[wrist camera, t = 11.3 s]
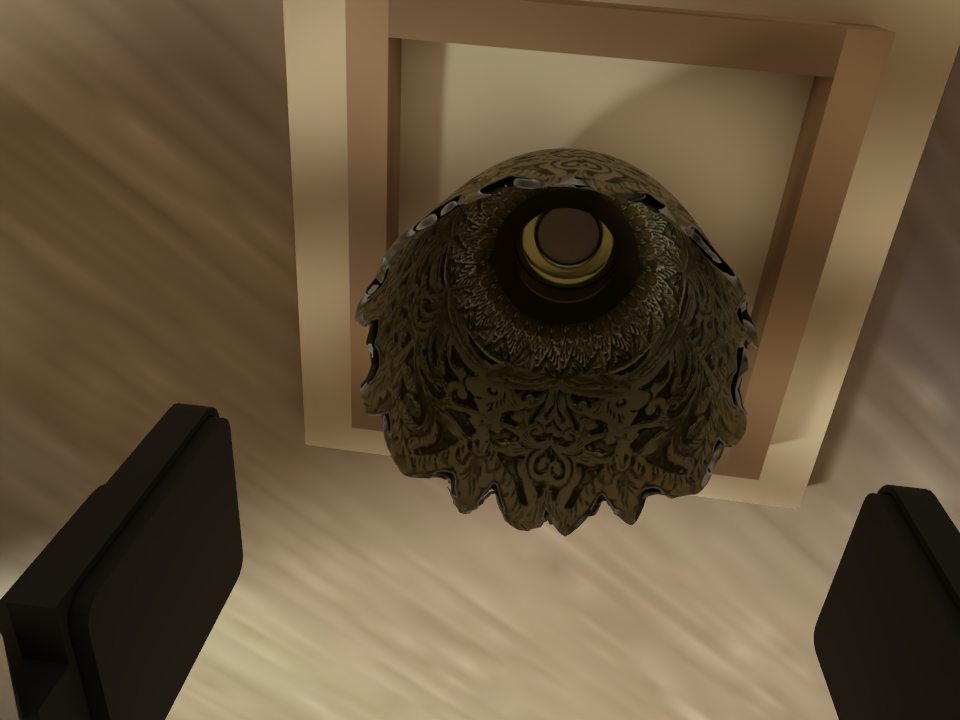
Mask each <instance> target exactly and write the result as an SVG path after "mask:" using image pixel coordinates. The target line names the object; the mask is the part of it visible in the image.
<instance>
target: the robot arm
mask: <svg viewBox="0 0 960 720" xmlns="http://www.w3.org/2000/svg"><path fill="white" fill-rule="evenodd" d="M242 561H243V549H242V539H241V530H240V520H239V510H238V500H237V490H236V480H235V470H234V461H233V451H232V441H231V431H230V424H229V422H228V420H227V419H226V418H219V414H218V412H217V410H216V409H215V408H213V407H206V406H197V405H189V404H180V403H178V404H174V405H173V406H172V407H171V408H170V409H169V410H168V411H167V412H166V413H165V415H164V416H163V417H162V418H161V419H160V420H159V422H158V423H157V424H156V425H155V426H154V428H153V429H152V430H151V431H150V432H149V433H148V435H147V436H146V437H145V438H144V439H143V440H142V442H141V443H140V444H139V445H138V446H137V448H136V449H135V450H134V451H133V452H132V453H131V455H130V456H129V457H128V458H127V459H126V461H125V462H124V463H123V464H122V465H121V466H120V468H119V469H118V470H117V471H116V472H115V473H114V475H113V476H112V477H111V478H110V479H109V481H108V482H107V483H106V484H104V485H101V486H99V487H98V488H97V489H96V490H95V491H94V492H93V493H92V494H91V495H90V496H89V497H88V498H87V500H86V501H85V502H84V503H83V504H82V505H81V507H80V508H79V509H78V510H77V511H76V512H75V514H74V515H73V516H72V517H71V518H70V519H69V521H68V522H67V523H66V524H65V525H64V526H63V528H62V529H61V530H60V531H59V532H58V533H57V535H56V536H55V537H54V538H53V539H52V540H51V542H50V543H49V544H48V545H47V546H46V547H45V548H44V550H43V551H42V552H41V553H40V554H39V555H38V557H37V558H36V559H35V560H34V561H33V562H32V564H31V565H30V566H29V567H28V568H27V569H26V571H25V572H24V573H23V574H22V575H21V576H20V578H19V579H18V580H17V581H16V582H15V583H14V585H13V586H12V587H11V588H10V589H9V590H8V592H7V593H6V594H5V595H4V596H3V597H2V599H1V600H0V720H165V719H166V717H167V715H168V713H169V711H170V709H171V707H172V705H173V703H174V701H175V699H176V697H177V695H178V694H179V692H180V690H181V688H182V686H183V684H184V682H185V680H186V678H187V676H188V674H189V672H190V670H191V668H192V666H193V665H194V663H195V661H196V659H197V657H198V655H199V653H200V651H201V649H202V647H203V645H204V643H205V641H206V639H207V637H208V636H209V634H210V632H211V630H212V628H213V626H214V624H215V622H216V620H217V618H218V616H219V614H220V612H221V610H222V608H223V607H224V605H225V603H226V601H227V599H228V597H229V595H230V593H231V591H232V589H233V587H234V585H235V583H236V581H237V579H238V577H239V575H240V571H241V567H242ZM814 646H815V651H816V654H817V657H818V660H819V663H820V666H821V669H822V672H823V675H824V677H825V680H826V683H827V686H828V689H829V692H830V695H831V698H832V700H833V703H834V706H835V709H836V712H837V715H838V718H839V720H960V533H959V531H958V530H957V528H956V527H955V525H954V524H953V522H952V521H951V519H950V517H949V516H948V514H947V513H946V511H945V510H944V508H943V507H942V505H941V504H940V502H939V501H938V499H937V498H936V496H935V495H934V494H933V493H932V492H931V491H930V490H927V489H920V488H912V487H903V486H894V485H885V486H883V487H882V488H881V489H880V490H879V491H878V493H877V494H875V493H871V494H868V495H867V496H866V498H865V500H864V502H863V504H862V507H861V510H860V512H859V515H858V517H857V520H856V522H855V525H854V528H853V530H852V533H851V535H850V538H849V540H848V543H847V546H846V548H845V551H844V553H843V556H842V558H841V561H840V564H839V566H838V569H837V571H836V574H835V576H834V579H833V582H832V584H831V587H830V589H829V592H828V595H827V597H826V600H825V602H824V605H823V607H822V610H821V613H820V615H819V618H818V620H817V623H816V626H815V631H814Z"/></svg>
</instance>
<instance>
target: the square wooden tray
mask: <svg viewBox="0 0 960 720" xmlns="http://www.w3.org/2000/svg"><path fill="white" fill-rule="evenodd" d="M283 16H284V36H285V55H286V75H287V94H288V114H289V134H290V153H291V173H292V192H293V212H294V231H295V251H296V271H297V290H298V310H299V329H300V349H301V368H302V388H303V407H304V427H305V445H311V446H318V447H326V448H334V449H341V450H349V451H356V452H364V453H372V454H379V455H387V456H391V454H390V452H389V450H388V448H387V445H386V442H385V439H384V434H383V422H382V417H381V415H380V416H369V415H367V414H366V413H365V412H364V410H363V407H362V401H361V394H360V386H361V384H362V383H363V381H364V380H365V379H366V377H367V375H368V372H369V369H370V366H371V358H370V351H369V350H368V349H367V347H366V339H367V336H368V332H369V327H370V326H369V325H368V326H367V327H365V326H364V328H363V327H362V326H361V325H360V324H359V323H357V322H356V321H355V312H356V309H357V306H358V304H359V302H360V300H361V298H362V296H363V294H364V293H365V291H366V289H367V288H368V286H369V285H370V284H371V282H372V281H373V280H374V279H375V278H376V275H377V273H378V271H379V268H380V265H381V262H382V260H383V258H384V256H385V254H386V253H387V251H388V250H389V248H390V247H391V246H392V244H393V243H394V242H395V241H396V240H397V239H398V238H399V237H400V236H401V235H403V234H404V233H405V232H406V231H408V230H409V229H410V228H411V227H413V226H414V225H415V224H417V223H418V222H419V221H421V220H422V219H423V218H424V217H426V216H427V215H428V214H429V213H430V212H431V211H432V210H433V209H435V208H436V207H437V206H438V205H439V204H440V203H442V202H443V201H444V200H445V199H446V198H447V197H449V196H450V195H451V194H452V193H454V192H455V191H456V190H457V189H459V188H460V187H461V186H463V185H464V184H465V183H467V182H468V181H469V180H470V179H472V178H473V177H475V176H476V175H478V174H480V173H481V172H483V171H485V170H486V169H488V168H490V167H492V166H494V165H496V164H498V163H501V162H503V161H505V160H507V159H510V158H512V157H515V156H519V155H522V154H525V153H529V152H534V151H539V150H546V149H558V148H565V149H581V150H588V151H594V152H598V153H602V154H606V155H610V156H612V157H615V158H617V159H620V160H623V161H625V162H627V163H629V164H631V165H633V166H635V167H637V168H639V169H640V170H642V171H643V172H645V173H646V174H648V175H649V176H651V177H652V178H654V179H655V180H656V181H658V182H659V183H660V184H661V185H662V186H663V187H665V188H666V189H667V190H668V191H669V192H670V193H671V194H672V195H673V196H674V197H675V198H676V199H677V200H678V201H679V202H680V203H681V205H682V206H683V207H684V208H685V209H686V210H687V211H688V212H689V214H690V215H691V216H692V218H693V219H694V220H695V222H696V223H697V224H698V226H699V227H700V228H701V230H702V231H703V233H704V234H705V235H706V237H707V238H708V240H709V241H710V243H711V244H712V246H713V247H714V248H715V250H716V251H717V253H718V254H719V255H720V256H721V257H722V258H723V259H724V261H725V262H726V263H727V264H728V265H729V266H730V267H731V269H732V270H733V271H734V273H735V274H736V275H737V277H738V278H739V280H740V282H741V284H742V286H743V288H744V290H745V292H746V294H747V297H748V300H749V301H748V307H747V310H748V314H749V315H750V317H751V319H752V321H753V323H754V326H755V329H756V332H757V337H758V343H759V346H758V349H756V348H755V347H754V346H753V345H748V347H747V356H748V361H749V368H748V372H747V373H745V374H744V376H743V378H742V383H741V387H740V393H741V397H742V403H743V406H744V408H745V410H746V412H747V427H746V432H745V434H744V435H743V437H742V439H741V440H740V441H739V443H738V444H736V445H735V446H733V445H730V444H729V445H727V446H725V448H724V451H723V453H722V456H721V458H720V459H719V460H718V461H717V463H716V466H715V468H714V471H713V473H712V475H711V478H710V480H709V481H708V483H707V485H706V486H705V487H704V489H703V490H702V491H701V492H699V493H698V494H696V495H692V496H699V497H707V498H715V499H722V500H730V501H737V502H745V503H753V504H760V505H768V506H776V507H783V508H791V509H798V510H799V507H800V505H801V502H802V499H803V496H804V493H805V490H806V487H807V484H808V481H809V479H810V476H811V473H812V470H813V467H814V464H815V461H816V458H817V455H818V453H819V450H820V447H821V444H822V441H823V438H824V435H825V432H826V430H827V427H828V424H829V421H830V418H831V415H832V412H833V409H834V406H835V404H836V401H837V398H838V395H839V392H840V389H841V386H842V383H843V380H844V378H845V375H846V372H847V369H848V366H849V363H850V360H851V357H852V355H853V352H854V349H855V346H856V343H857V340H858V337H859V334H860V331H861V329H862V326H863V323H864V320H865V317H866V314H867V311H868V308H869V306H870V303H871V300H872V297H873V294H874V291H875V288H876V285H877V282H878V280H879V277H880V274H881V271H882V268H883V265H884V262H885V259H886V256H887V254H888V251H889V248H890V245H891V242H892V239H893V236H894V233H895V231H896V228H897V225H898V222H899V219H900V216H901V213H902V210H903V207H904V205H905V202H906V199H907V196H908V193H909V190H910V187H911V184H912V182H913V179H914V176H915V173H916V170H917V167H918V164H919V161H920V158H921V156H922V153H923V150H924V147H925V144H926V141H927V138H928V135H929V132H930V130H931V127H932V124H933V121H934V118H935V115H936V112H937V109H938V107H939V104H940V101H941V98H942V95H943V92H944V89H945V86H946V83H947V81H948V78H949V75H950V72H951V69H952V66H953V63H954V60H955V58H956V55H957V52H958V49H959V46H960V0H283ZM538 239H539V243H540V246H541V248H542V250H543V251H544V252H545V253H546V254H547V255H548V256H549V257H550V258H552V259H553V260H555V261H558V262H561V263H576V262H579V261H582V260H584V259H585V258H587V257H588V256H589V255H590V254H591V253H592V252H593V251H594V249H595V248H596V246H597V243H598V239H599V230H598V226H597V224H596V221H595V220H594V218H593V217H592V216H591V215H590V214H589V213H587V212H584V211H581V210H578V209H572V208H560V209H554V210H552V211H550V212H549V213H548V214H547V215H546V216H545V217H544V218H543V220H542V221H541V223H540V226H539V230H538Z"/></svg>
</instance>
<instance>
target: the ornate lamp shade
mask: <svg viewBox="0 0 960 720" xmlns="http://www.w3.org/2000/svg"><path fill="white" fill-rule="evenodd" d="M560 208H572V209H578V210H581V211H584V212H587V213H589V214H590V215H591V216H592V217H593V218H594V220H595V221H596V224H597V226H598V230H599V239H598V243H597V246H596V248H595V249H594V251H593V252H592V253H591V254H590V255H589V256H588V257H587V258H585V259H584V260H582V261H579V262H576V263H561V262H558V261H555V260H553V259H552V258H550V257H549V256H548V255H547V254H546V253H545V252H544V251H543V250H542V248H541V246H540V243H539V239H538V230H539V226H540V223H541V221H542V220H543V218H544V217H545V216H546V215H547V214H548V213H549V212H550V211H552V210H554V209H560ZM748 301H749V300H748V297H747V294H746V292H745V290H744V288H743V286H742V284H741V282H740V280H739V278H738V277H737V275H736V274H735V273H734V271H733V270H732V269H731V267H730V266H729V265H728V264H727V263H726V262H725V261H724V259H723V258H722V257H721V256H720V255H719V254H718V253H717V251H716V250H715V248H714V247H713V246H712V244H711V243H710V241H709V240H708V238H707V237H706V235H705V234H704V233H703V231H702V230H701V228H700V227H699V226H698V224H697V223H696V222H695V220H694V219H693V218H692V216H691V215H690V214H689V212H688V211H687V210H686V209H685V208H684V207H683V206H682V205H681V203H680V202H679V201H678V200H677V199H676V198H675V197H674V196H673V195H672V194H671V193H670V192H669V191H668V190H667V189H666V188H665V187H663V186H662V185H661V184H660V183H659V182H658V181H656V180H655V179H654V178H652V177H651V176H649V175H648V174H646V173H645V172H643V171H642V170H640V169H639V168H637V167H635V166H633V165H631V164H629V163H627V162H625V161H623V160H620V159H617V158H615V157H612V156H610V155H606V154H602V153H598V152H594V151H588V150H581V149H565V148H558V149H546V150H539V151H534V152H529V153H525V154H522V155H519V156H515V157H512V158H510V159H507V160H505V161H503V162H501V163H498V164H496V165H494V166H492V167H490V168H488V169H486V170H485V171H483V172H481V173H480V174H478V175H476V176H475V177H473V178H472V179H470V180H469V181H468V182H467V183H465V184H464V185H463V186H461V187H460V188H459V189H457V190H456V191H455V192H454V193H452V194H451V195H450V196H449V197H447V198H446V199H445V200H444V201H443V202H442V203H440V204H439V205H438V206H437V207H436V208H435V209H433V210H432V211H431V212H430V213H429V214H428V215H427V216H426V217H424V218H423V219H422V220H421V221H419V222H418V223H417V224H415V225H414V226H413V227H411V228H410V229H409V230H408V231H406V232H405V233H404V234H403V235H401V236H400V237H399V238H398V239H397V240H396V241H395V242H394V243H393V244H392V246H391V247H390V248H389V250H388V251H387V253H386V254H385V256H384V258H383V260H382V262H381V265H380V268H379V271H378V273H377V275H376V278H375V279H374V280H373V281H372V282H371V284H370V285H369V286H368V288H367V289H366V291H365V293H364V294H363V296H362V298H361V300H360V302H359V304H358V306H357V309H356V312H355V321H356V322H357V323H359V324H360V325H361V326H362V327H363V328H364V326H365V327H367V326H368V325H369V326H370V327H369V332H368V336H367V339H366V347H367V349H368V350H369V351H370V358H371V366H370V369H369V372H368V375H367V377H366V379H365V380H364V381H363V383H362V384H361V386H360V394H361V401H362V407H363V410H364V412H365V413H366V414H367V415H369V416H380V415H381V417H382V422H383V434H384V439H385V442H386V445H387V448H388V450H389V452H390V454H391V456H392V458H393V460H394V461H395V463H396V465H397V466H398V468H399V470H400V472H402V473H403V474H404V475H406V476H409V477H415V478H428V479H429V478H432V477H438V478H442V479H446V480H448V483H450V482H451V491H450V489H449V487H448V489H449V491H450V494H451V496H452V498H453V503H454V504H455V506H456V507H457V508H458V510H459V512H460V513H463V514H469V513H470V512H471V511H472V510H475V509H477V508H478V506H480V505H481V504H483V502H484V500H485V499H486V498H488V497H489V496H490V494H494V493H495V495H496V499H497V503H498V506H499V508H500V511H501V513H502V515H503V517H504V519H505V521H506V522H508V523H509V524H510V525H511V526H513V527H514V528H516V529H518V530H524V531H529V530H530V529H534V528H539V527H541V526H542V525H543V523H544V522H545V521H547V520H548V522H549V524H550V525H551V524H553V525H554V526H555V527H556V529H557V530H558V531H559V532H560V533H561V534H562V535H564V536H567V535H569V534H571V533H572V532H573V531H574V530H575V529H577V528H578V527H579V526H580V525H581V524H582V523H583V522H584V521H585V520H586V519H587V517H588V516H593V515H595V514H596V513H597V511H598V510H599V507H600V505H601V504H600V503H601V502H602V501H606V502H607V504H608V505H609V506H610V507H611V508H612V510H613V511H614V514H615V515H617V516H619V517H620V518H621V519H622V520H623V521H624V522H625V523H627V524H629V525H633V524H634V523H635V522H636V521H637V519H638V517H639V515H640V513H641V511H642V509H643V506H644V503H645V500H646V498H647V497H648V496H651V495H655V494H661V495H665V496H667V497H668V498H670V499H671V498H675V497H680V496H685V495H696V494H698V493H699V492H701V491H702V490H703V489H704V487H705V486H706V485H707V483H708V481H709V480H710V478H711V475H712V473H713V471H714V468H715V466H716V463H717V461H718V460H719V459H720V458H721V456H722V453H723V451H724V448H725V446H727V445H729V444H730V445H733V446H735V445H736V444H738V443H739V441H740V440H741V439H742V437H743V435H744V434H745V432H746V427H747V412H746V410H745V408H744V406H743V403H742V397H741V393H740V387H741V383H742V378H743V376H744V374H745V373H747V372H748V368H749V361H748V356H747V347H748V345H753V346H754V347H755V348H756V349H758V346H759V343H758V337H757V332H756V329H755V326H754V323H753V321H752V319H751V317H750V315H749V314H748V310H747V307H748ZM449 479H450V481H449ZM490 489H493V490H494V491H491V492H489V493H488V494H487V492H488V491H489V490H490ZM485 494H487V495H486V496H485V497H484V498H482V497H483V496H484V495H485ZM481 498H482V499H481ZM479 501H480V502H479Z"/></svg>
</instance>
